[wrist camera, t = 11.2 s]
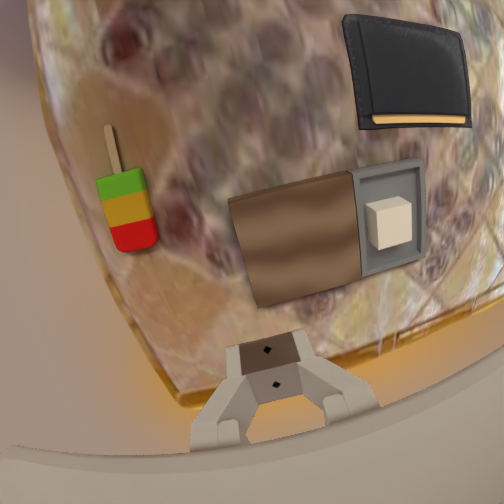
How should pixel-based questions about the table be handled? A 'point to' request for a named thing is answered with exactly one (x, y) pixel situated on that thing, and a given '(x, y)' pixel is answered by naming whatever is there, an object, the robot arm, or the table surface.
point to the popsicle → (127, 203)
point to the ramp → (298, 237)
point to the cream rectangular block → (389, 222)
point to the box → (384, 187)
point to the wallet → (406, 74)
